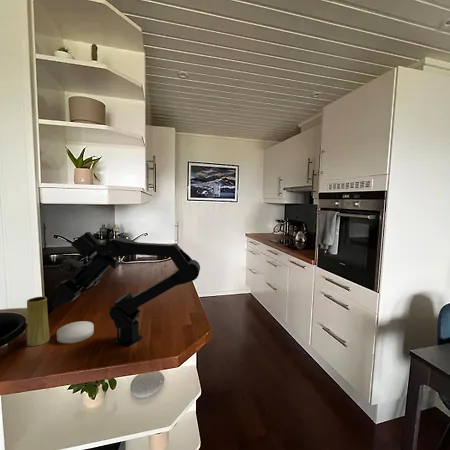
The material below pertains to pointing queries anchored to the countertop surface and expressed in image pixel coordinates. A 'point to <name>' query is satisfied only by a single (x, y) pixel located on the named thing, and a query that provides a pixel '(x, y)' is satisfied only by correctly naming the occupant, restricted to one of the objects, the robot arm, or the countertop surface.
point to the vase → (37, 321)
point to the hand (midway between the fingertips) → (62, 301)
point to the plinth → (75, 332)
